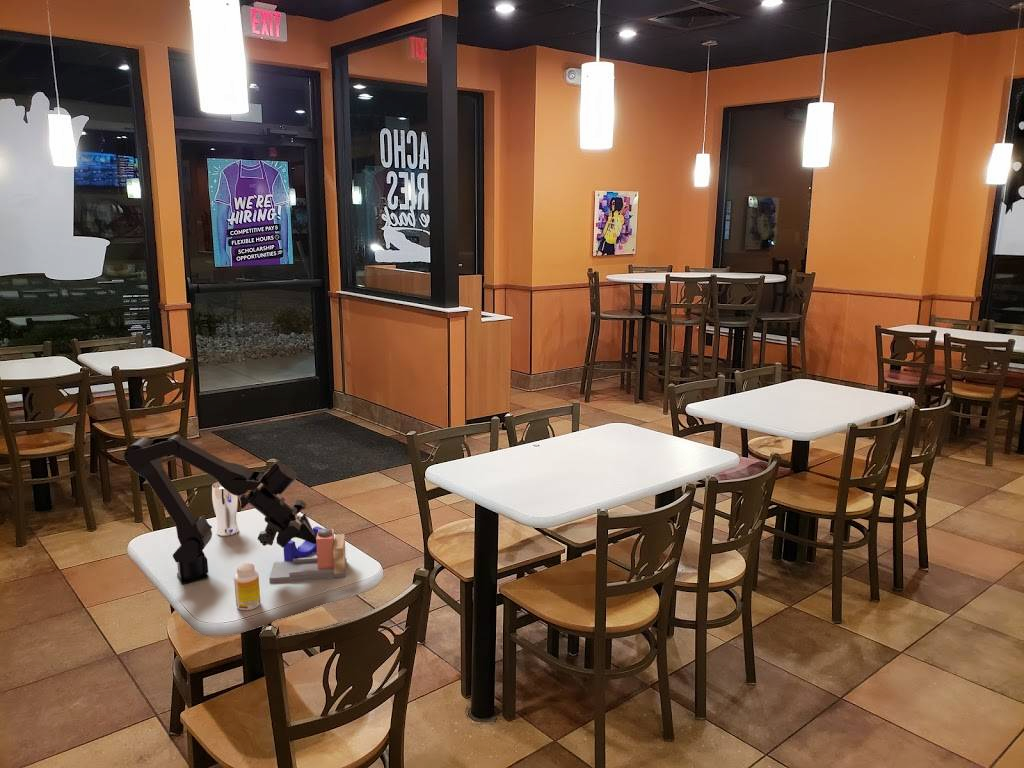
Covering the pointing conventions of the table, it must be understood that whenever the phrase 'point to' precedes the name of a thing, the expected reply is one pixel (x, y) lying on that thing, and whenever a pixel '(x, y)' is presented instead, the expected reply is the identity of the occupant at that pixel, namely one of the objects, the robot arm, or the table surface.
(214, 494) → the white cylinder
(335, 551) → the socket block
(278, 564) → the socket board
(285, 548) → the blue curved piece
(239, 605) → the supplement bottle
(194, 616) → the table surface
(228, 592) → the table surface
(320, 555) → the orange upright block
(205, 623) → the table surface
